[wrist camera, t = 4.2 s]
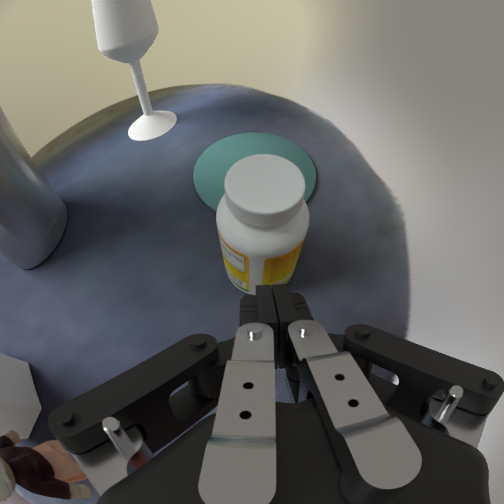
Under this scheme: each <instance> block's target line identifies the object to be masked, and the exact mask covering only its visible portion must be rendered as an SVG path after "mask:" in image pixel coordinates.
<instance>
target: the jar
mask: <svg viewBox="0 0 504 504" xmlns="http://www.w3.org/2000/svg"><path fill="white" fill-rule="evenodd" d="M41 409H42V407H41V404H40V401H39V398H38V395H37V392H36V389H35V386H34V382H33V379H32V375H31V372H30V368H29V364H28V363H27V362H25V361H23V360H20V359H17V358H15V357H12V356H9V355H7V354H4V353H1V352H0V436H3V435H5V434H6V433H8V432H9V431H10V430H14V431H16V432H17V433H18V434H19V436H20V439H28V438H29V436H30V434H31V431H32V429H33V427H34V424H35V422H36V420H37V418H38V416H39V414H40V412H41Z"/></svg>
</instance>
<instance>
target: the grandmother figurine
mask: <svg viewBox="0 0 504 504" xmlns="http://www.w3.org/2000/svg"><path fill="white" fill-rule="evenodd" d="M19 441H20V436H19V434H18V433H17V432H16V431H14V430H10V431H9V432H8V433H6V434H5V435H3V436H0V501H6V500H7V498H8V497H10V496H11V495H12V492H13V491H14V489H15V485H16V483H17V484H18V485H20V486H21V487H23V488H25V489H26V490H28V491H30V492H32V493H35V494H39V495H43V496H48V497H54V498H61V499H71V498H80V497H82V498H85V499H89V498H90V497H91V496H92V490H91V489H90V488H89V487H88V486H87V485H85V484H78V485H76V484H73V483H70V482H76V481H82V480H85V479H87V477H86V475H85V474H84V472H83V471H82V469H81V468H80V466H79V465H78V464H77V463H76V462H75V461H74V460H73V459H72V458H71V457H70V455H69V454H68V453H67V452H66V451H65V450H64V449H63V447H62V446H61V443H60V442H59V441H58V440H52V441H46V442H44V443H42V444H40V445H37V446H35V447H32V448H30V447H17V446H15V445H16V444H17V443H19Z"/></svg>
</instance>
